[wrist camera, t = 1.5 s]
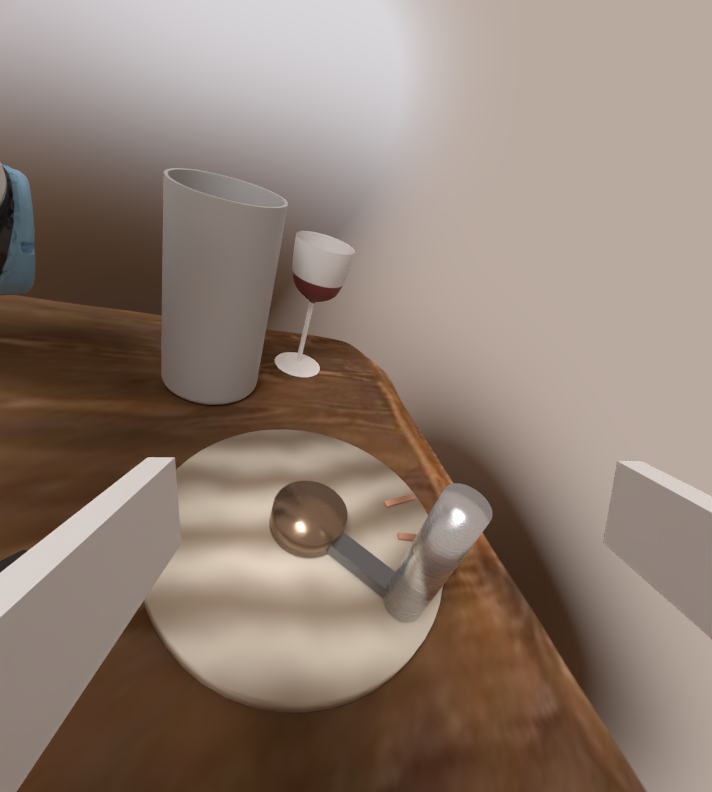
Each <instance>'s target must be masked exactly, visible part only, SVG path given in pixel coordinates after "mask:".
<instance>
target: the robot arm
mask: <svg viewBox="0 0 712 792" xmlns="http://www.w3.org/2000/svg"><path fill="white" fill-rule="evenodd" d="M33 246H34V220H33V209H32V200H31V193H30V186H29V182H28V180H27V178H26V176H25V175H24V174H22V173H21V172H20V171H18V170H15V169H11V168H10V167H8V166H7V165H2V164H1V163H0V295H20V294H23V293H26V292H27V291H29V290H30V289H31V287H32V286H33V283H34V277H35V250H34V247H33ZM603 543H604V544H605V545H606V546H607V547H608V548H609V549H611V550H612V551H613V552H614V553H615V554H616V555H618V556H619V557H620V558H621V559H622V560H623V561H624V562H626V564H628V565H629V566H630V567H631V568H632V569H633V570H634V571H635V572H637V573H638V574H639V575H640V576H641V577H642V578H643V579H644V580H646V581H647V582H648V583H649V584H650V585H651V586H652V587H653V588H655V589H656V590H657V591H658V592H659V593H660V594H662V595H663V596H664V597H665V598H666V599H667V600H668V601H669V602H670V603H672V604H673V605H674V606H675V607H676V608H677V609H678V610H680V611H681V612H682V613H683V614H684V615H685V616H686V617H688V618H689V619H690V620H691V621H692V622H693V623H694V624H695V625H696V626H698V627H699V628H700V629H701V630H702V631H703V632H705V633H706V634H707V635H708V636H709V637H710V638H711V639H712V496H710V495H708V494H706V493H703V492H702V491H700V490H698V489H696V488H694V487H692V486H690V485H688V484H686V483H684V482H682V481H680V480H678V479H676V478H674V477H672V476H670V475H668V474H666V473H664V472H662V471H660V470H658V469H656V468H654V467H652V466H650V465H648V464H646V463H644V462H642V461H617V465H616V471H615V477H614V482H613V488H612V494H611V500H610V505H609V511H608V517H607V522H606V528H605V533H604V539H603ZM180 545H181V532H180V518H179V505H178V492H177V479H176V466H175V457H147V458H146V459H145V460H143V461H142V462H141V463H140V464H138V465H137V466H136V467H134V468H133V469H132V470H131V471H129V472H128V473H127V474H126V475H124V476H123V477H122V478H120V479H119V480H118V481H117V482H115V483H114V484H113V485H111V486H110V487H109V488H108V489H106V490H105V491H104V492H103V493H101V494H100V495H99V496H97V497H96V498H95V499H94V500H92V501H91V502H90V503H88V504H87V505H86V506H85V507H83V508H82V509H81V510H80V511H78V512H77V513H76V514H74V515H73V516H72V517H71V518H69V519H68V520H67V521H65V522H64V523H63V524H62V525H60V526H59V527H58V528H57V529H55V530H54V531H53V532H51V533H50V534H49V535H48V536H46V537H45V538H44V539H42V540H41V541H40V542H39V543H37V544H36V545H35V546H34V547H32V548H31V549H30V550H22V551H20V552H18V553H16V554H14V555H12V556H10V557H8V558H6V559H4V560H2V561H0V792H17V790H18V789H19V787H20V786H21V784H22V783H23V781H24V780H25V778H26V777H27V775H28V774H29V772H30V771H31V769H32V768H33V766H34V765H35V763H36V762H37V760H38V759H39V757H40V756H41V754H42V753H43V751H44V750H45V748H46V747H47V745H48V744H49V742H50V741H51V739H52V738H53V736H54V735H55V733H56V732H57V730H58V729H59V727H60V726H61V724H62V723H63V721H64V720H65V718H66V717H67V715H68V714H69V712H70V711H71V709H72V708H73V706H74V705H75V703H76V702H77V700H78V699H79V697H80V696H81V694H82V693H83V691H84V690H85V688H86V687H87V685H88V684H89V682H90V681H91V679H92V678H93V676H94V675H95V673H96V672H97V670H98V669H99V667H100V666H101V664H102V663H103V661H104V660H105V658H106V656H107V655H108V653H109V652H110V650H111V649H112V647H113V646H114V644H115V643H116V641H117V640H118V638H119V637H120V635H121V634H122V632H123V631H124V629H125V628H126V626H127V625H128V623H129V622H130V620H131V619H132V617H133V616H134V614H135V613H136V611H137V610H138V608H139V607H140V605H141V604H142V602H143V601H144V599H145V598H146V596H147V595H148V593H149V592H150V590H151V589H152V587H153V586H154V584H155V583H156V581H157V580H158V578H159V577H160V575H161V574H162V572H163V571H164V569H165V568H166V566H167V565H168V563H169V562H170V560H171V559H172V557H173V556H174V554H175V553H176V551H177V550H178V548H179V547H180Z"/></svg>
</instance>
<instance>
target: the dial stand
mask: <svg viewBox="0 0 712 792" xmlns="http://www.w3.org/2000/svg"><path fill="white" fill-rule="evenodd" d="M176 479H177V492H178V505H179V518H180V532H181V545H180V547H179V548H178V550H177V551H176V553H175V554H174V556H173V557H172V559H171V560H170V562H169V563H168V565H167V566H166V568H165V569H164V571H163V572H162V574H161V575H160V577H159V578H158V580H157V581H156V583H155V584H154V586H153V587H152V589H151V590H150V592H149V593H148V595H147V596H146V598H145V599H144V604H145V608H146V611H147V613H148V616H149V618H150V621H151V623H152V626H153V628H154V630H155V632H156V633H157V635H158V637H159V638H160V640H161V642H162V643H163V645H164V646H165V648H166V649H167V651H168V652H169V653H170V654H171V655H172V656H173V658H174V659H175V660H176V661H177V662H178V663H179V664H180V666H181V667H182V668H183V669H184V670H186V671H187V672H188V673H189V674H191V675H192V676H193V677H194V678H195V679H197V680H198V681H199V682H200V683H201V684H203V685H205V686H206V687H208V688H210V689H211V690H213V691H215V692H217V693H218V694H220V695H222V696H223V697H225V698H228V699H231V700H233V701H236V702H238V703H241V704H244V705H246V706H249V707H253V708H258V709H263V710H268V711H273V712H286V713H307V712H315V711H323V710H329V709H332V708H336V707H339V706H342V705H346V704H349V703H352V702H354V701H356V700H358V699H360V698H362V697H364V696H366V695H368V694H371V693H372V692H374V691H375V690H376V689H378V688H379V687H381V686H382V685H384V684H385V683H387V682H388V681H389V680H390V679H391V678H392V677H393V676H395V675H396V674H397V673H398V672H399V671H400V670H401V669H402V668H403V667H404V666H405V665H406V663H407V662H408V661H409V660H410V658H411V657H412V656H413V654H414V653H415V652H416V650H417V649H418V648H419V646H420V645H421V644H422V642H423V641H424V640H425V638H426V636H427V634H428V632H429V630H430V628H431V626H432V625H433V623H434V620H435V617H436V614H437V611H438V608H439V605H440V600H441V594H442V588H443V586H442V588H441V589H440V590H439V592H438V593H437V594H436V596H435V597H434V599H433V600H432V601H431V603H430V604H429V605H428V607H427V608H426V609H425V611H424V612H423V614H422V615H421V616H420V618H419V619H418V620H416V621H414V622H411V623H405V622H401V621H399V620H397V619H395V618H394V617H393V616H392V615H391V614H390V613H389V612H388V610H387V608H386V606H385V604H384V599H383V597H381V596H380V595H379V594H378V593H376V592H375V591H374V590H373V589H371V588H370V587H369V586H368V585H366V584H365V583H364V582H363V581H361V580H360V579H359V578H358V577H357V576H355V575H354V574H353V573H352V572H350V571H349V570H348V569H347V568H345V567H344V566H343V565H342V564H340V563H339V562H338V561H337V560H335V559H334V558H333V557H332V556H330V555H329V554H328V553H327V554H325V555H322V556H319V557H313V558H305V557H299V556H296V555H293V554H291V553H289V552H287V551H285V550H284V549H283V548H281V547H280V546H279V545H278V544H277V543H276V541H275V540H274V538H273V537H272V534H271V532H270V528H269V519H270V514H271V510H272V506H273V502H274V499H275V497H276V495H277V493H278V492H279V491H280V490H281V489H282V488H283V487H285V486H286V485H288V484H290V483H293V482H297V481H314V482H319V483H322V484H324V485H326V486H328V487H330V488H331V489H333V490H334V491H335V492H336V493H337V494H338V495H339V496H340V497H341V498H342V500H343V501H344V503H345V505H346V508H347V513H348V518H347V523H346V526H345V528H344V531H343V532H344V533H346V534H347V535H348V536H349V537H351V538H352V539H353V540H355V541H356V542H357V543H359V544H360V545H361V546H362V547H364V548H365V549H366V550H368V551H369V552H370V553H372V554H373V555H374V556H375V557H377V558H378V559H379V560H381V561H382V562H383V563H385V564H386V565H387V566H388V567H390V568H391V569H392V570H394V571H396V570H397V568H398V566H399V565H400V563H401V561H402V560H403V558H404V556H405V554H406V553H407V551H408V549H409V548H410V546H411V544H412V543H413V541H414V539H415V538H416V536H417V534H418V533H419V531H420V529H421V527H422V526H423V524H424V522H425V521H426V519H427V517H428V515H427V513H426V511H425V509H424V508H423V506H422V505H421V503H420V502H419V500H418V498H417V497H416V496H415V494H414V493H413V492H412V491H411V490H410V488H409V487H408V486H407V485H406V484H405V483H404V482H403V481H402V480H401V479H400V478H399V477H398V476H397V475H396V474H395V473H394V472H393V471H392V470H391V469H389V468H388V467H387V466H386V465H385V464H383V463H382V462H380V461H379V460H377V459H376V458H375V457H373V456H371V455H370V454H368V453H366V452H364V451H363V450H361V449H359V448H357V447H355V446H353V445H350V444H348V443H346V442H343V441H341V440H338V439H335V438H332V437H329V436H325V435H321V434H317V433H312V432H306V431H298V430H262V431H255V432H249V433H244V434H240V435H237V436H233V437H230V438H227V439H225V440H222V441H219V442H217V443H215V444H213V445H211V446H209V447H207V448H205V449H203V450H201V451H200V452H198V453H197V454H195V455H194V456H192V457H191V458H189V459H188V460H187V461H186V462H184V463H183V464H182V465H181V466H180V467H179V468H177V469H176Z"/></svg>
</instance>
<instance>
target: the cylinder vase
mask: <svg viewBox="0 0 712 792" xmlns="http://www.w3.org/2000/svg"><path fill="white" fill-rule="evenodd" d="M163 196H164V198H163V267H162V268H163V269H162V340H161V377H162V380H163V382H164V384H165V385H166V387H167V388H168V389H169V390H170V391H172V392H173V393H174V394H176V395H177V396H179V397H181V398H183V399H186V400H188V401H191V402H195V403H200V404H207V405H222V404H229V403H233V402H237V401H239V400H241V399H243V398H245V397H247V396H248V395H249V394H250V393H251V392H252V391H253V390H254V389H255V387H256V384H257V379H258V373H259V367H260V362H261V356H262V350H263V344H264V339H265V333H266V327H267V321H268V315H269V310H270V304H271V298H272V292H273V287H274V281H275V275H276V269H277V264H278V257H279V252H280V246H281V240H282V235H283V229H284V223H285V218H286V212H287V206H288V203H287V201H286V200H285V199H284V198H282V197H281V196H279V195H277V194H275V193H273V192H271V191H269V190H267V189H264V188H262V187H259V186H257V185H254V184H251V183H248V182H245V181H242V180H238V179H235V178H231V177H227V176H223V175H220V174H215V173H210V172H205V171H199V170H193V169H183V168H172V169H167V170H165V171H164V195H163Z"/></svg>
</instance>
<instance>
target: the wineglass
mask: <svg viewBox="0 0 712 792" xmlns="http://www.w3.org/2000/svg"><path fill="white" fill-rule="evenodd" d="M354 255H355V250H354V249H353V248H352V247H351V246H350V245H348V244H346V243H345V242H343V241H340V240H338V239H336V238H333V237H330V236H327V235H324V234H320V233H316V232H310V231H300V232H297V234H296V239H295V246H294V254H293V279H294V282H295V285H296V287H297V288H298V290H299V291H300V292H301V293H302V294H303V295H304V296H305V297H306V298H307V299H309V301H310V302H309V307H308V311H307V316H306V320H305V324H304V328H303V333H302V337H301V341H300V346H299V350H298V353H295V352H286V353H281V354H279V355H278V356H276V357H275V364H276V366H277V367H278V368H279V369H280V370H282V371H283V372H285V373H287V374H289V375H292V376H297V377H312V376H314V375H316V374H318V372H319V371H320V367H319V365H318V363H317V362H316V361H315V360H314V359H312V358H310V357H309V356H306V355H304V354H302V353H303V349H304V345H305V341H306V337H307V332H308V328H309V324H310V320H311V315H312V312H313V307H314V303H315V302H321V301H327V300H330V299H332V298H334V297H335V296H336V295H337V294H338V292H339V291H340V289H341V288H342V286H343V284H344V282H345V280H346V277H347V275H348V272H349V270H350V267H351V264H352V261H353V258H354Z"/></svg>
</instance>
